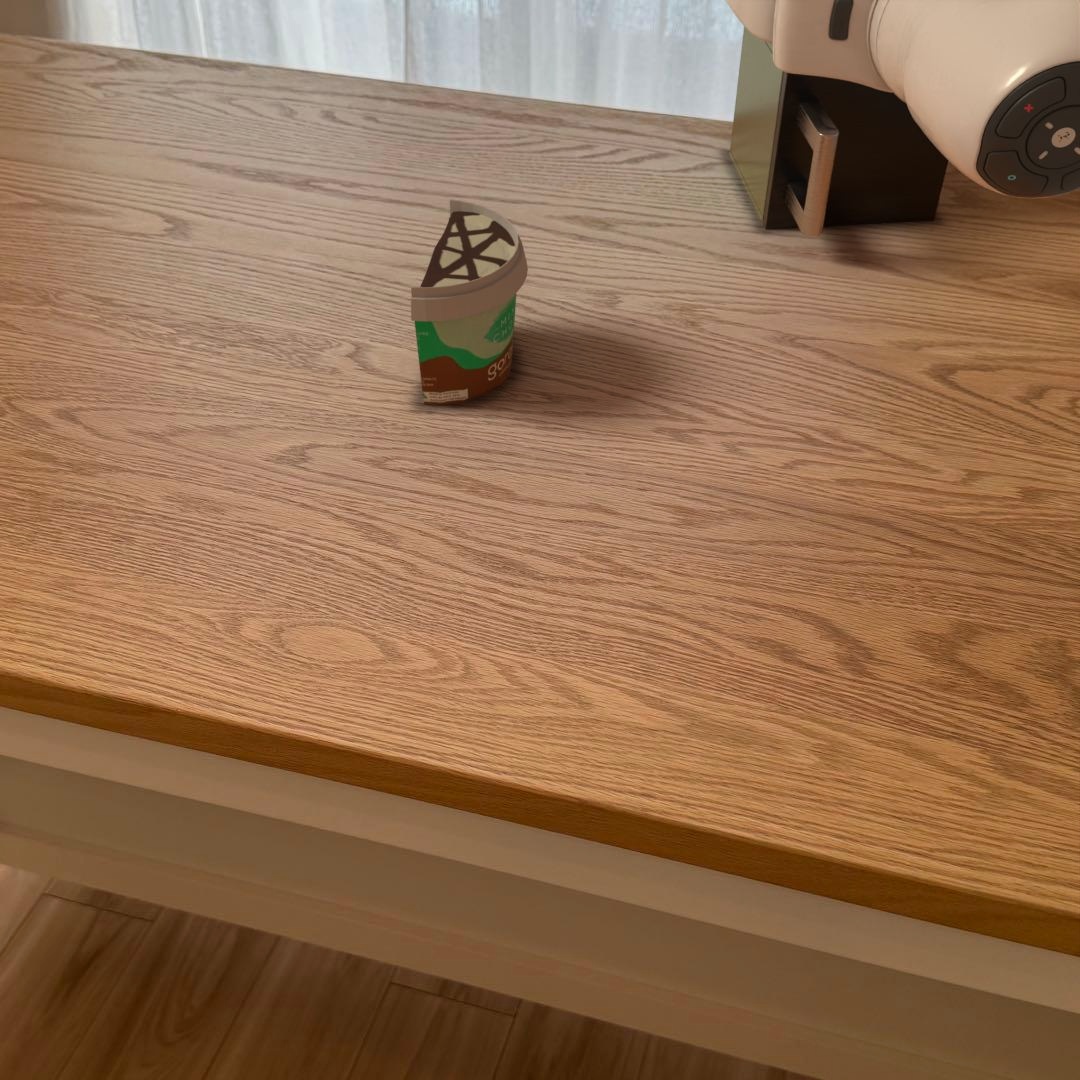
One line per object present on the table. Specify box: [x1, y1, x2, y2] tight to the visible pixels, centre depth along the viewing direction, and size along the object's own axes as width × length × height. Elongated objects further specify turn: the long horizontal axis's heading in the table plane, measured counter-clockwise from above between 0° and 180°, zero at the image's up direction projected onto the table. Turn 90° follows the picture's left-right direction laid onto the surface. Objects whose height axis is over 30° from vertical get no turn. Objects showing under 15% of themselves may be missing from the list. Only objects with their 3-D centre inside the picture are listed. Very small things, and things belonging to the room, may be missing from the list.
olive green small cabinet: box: [729, 25, 784, 223], centre depth 101 cm, size 12×14×14 cm
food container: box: [410, 199, 529, 406], centre depth 82 cm, size 12×6×10 cm, turn 171°
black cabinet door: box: [762, 72, 950, 237], centre depth 94 cm, size 7×14×14 cm, turn 96°
